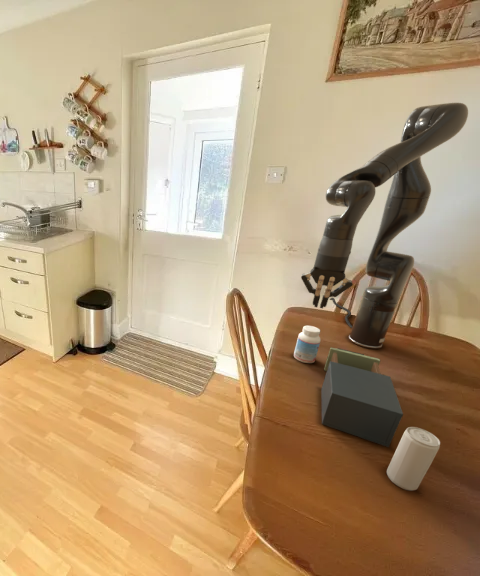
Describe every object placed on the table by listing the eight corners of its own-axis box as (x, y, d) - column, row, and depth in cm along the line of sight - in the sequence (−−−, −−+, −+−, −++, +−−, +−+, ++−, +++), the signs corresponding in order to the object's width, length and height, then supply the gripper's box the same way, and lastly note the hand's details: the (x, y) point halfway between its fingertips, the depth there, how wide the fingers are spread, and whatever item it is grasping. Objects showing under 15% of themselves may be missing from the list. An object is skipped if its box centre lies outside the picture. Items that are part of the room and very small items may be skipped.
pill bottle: (318, 364, 100) (327, 334, 96) (297, 362, 101) (305, 332, 97) (310, 354, 106) (318, 325, 102) (290, 352, 107) (297, 323, 103)
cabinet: (321, 389, 89) (330, 360, 86) (378, 406, 83) (390, 376, 79) (321, 424, 77) (332, 392, 74) (388, 447, 71) (403, 414, 67)
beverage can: (409, 474, 65) (431, 429, 60) (423, 495, 60) (448, 449, 56) (381, 467, 66) (400, 423, 62) (392, 488, 62) (414, 442, 58)
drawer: (323, 359, 101) (330, 338, 99) (368, 371, 95) (376, 349, 93) (324, 395, 86) (332, 371, 83) (378, 411, 80) (388, 387, 77)
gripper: (361, 252, 90) (344, 307, 96) (306, 247, 97) (293, 298, 103) (364, 258, 84) (346, 316, 90) (305, 252, 91) (292, 306, 97)
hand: (318, 306), depth 97 cm, fingers closed
